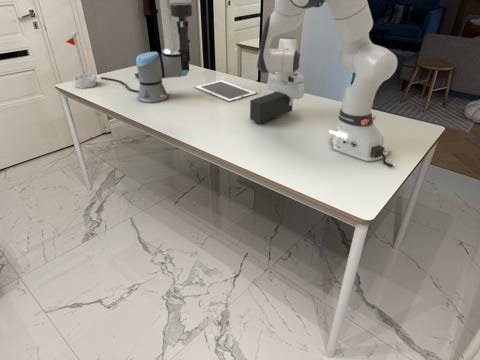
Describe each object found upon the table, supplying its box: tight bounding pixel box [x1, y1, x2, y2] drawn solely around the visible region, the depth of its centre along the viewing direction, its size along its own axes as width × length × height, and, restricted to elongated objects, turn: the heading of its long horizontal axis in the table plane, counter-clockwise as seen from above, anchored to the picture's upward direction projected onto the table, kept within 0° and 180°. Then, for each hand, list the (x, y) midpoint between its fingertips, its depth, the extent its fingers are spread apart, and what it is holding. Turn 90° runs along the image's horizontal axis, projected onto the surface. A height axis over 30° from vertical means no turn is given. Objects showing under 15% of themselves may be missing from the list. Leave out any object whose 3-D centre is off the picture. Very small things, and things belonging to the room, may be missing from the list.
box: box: [249, 92, 294, 124], centre depth 159 cm, size 23×6×9 cm, turn 133°
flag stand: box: [65, 31, 98, 89], centre depth 197 cm, size 13×13×30 cm
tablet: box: [194, 79, 258, 102], centre depth 196 cm, size 32×20×1 cm, turn 41°
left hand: (186, 65), depth 131 cm, fingers open, 13 cm apart
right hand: (283, 103), depth 164 cm, fingers closed on box, 6 cm apart
